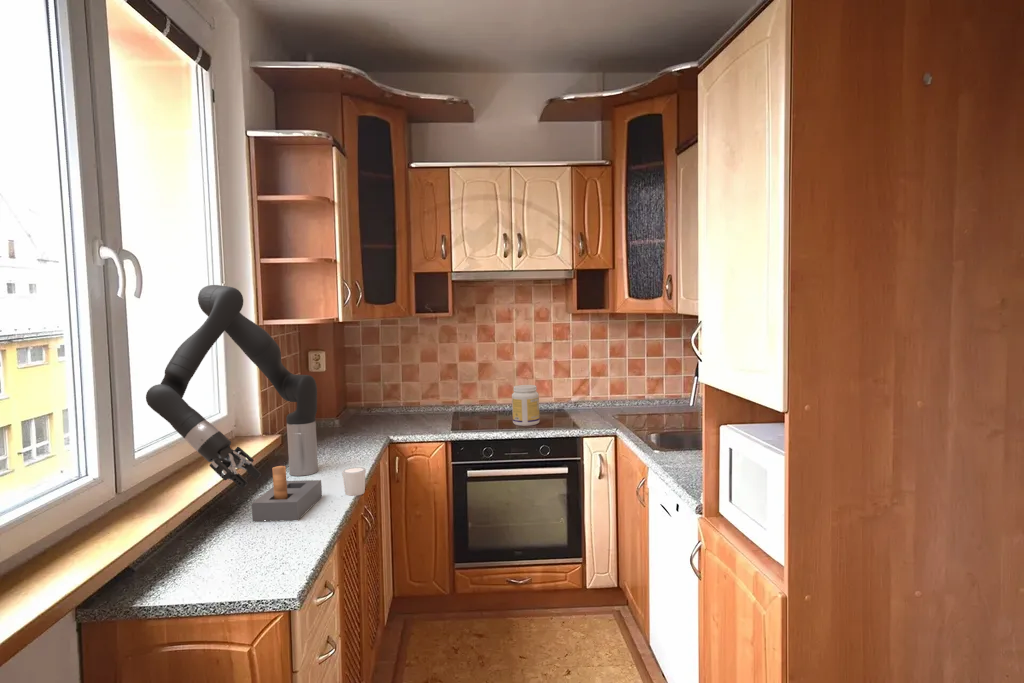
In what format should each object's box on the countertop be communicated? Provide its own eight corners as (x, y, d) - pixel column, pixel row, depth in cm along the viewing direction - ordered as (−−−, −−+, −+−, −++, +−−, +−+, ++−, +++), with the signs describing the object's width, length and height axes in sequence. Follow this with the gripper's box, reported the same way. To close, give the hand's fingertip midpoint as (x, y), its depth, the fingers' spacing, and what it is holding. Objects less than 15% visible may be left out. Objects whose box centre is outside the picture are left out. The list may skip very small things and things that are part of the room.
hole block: (281, 497, 188) (280, 481, 188) (322, 496, 188) (321, 480, 187) (252, 521, 168) (251, 503, 168) (297, 520, 168) (296, 502, 167)
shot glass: (342, 491, 192) (340, 468, 192) (365, 488, 195) (364, 465, 194) (344, 497, 186) (343, 474, 185) (368, 494, 188) (367, 471, 188)
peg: (278, 508, 175) (275, 466, 174) (290, 508, 174) (287, 465, 174) (273, 513, 171) (270, 469, 170) (285, 512, 171) (282, 468, 170)
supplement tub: (539, 420, 292) (538, 384, 290) (540, 426, 279) (539, 387, 278) (512, 421, 292) (511, 384, 291) (512, 426, 280) (511, 388, 279)
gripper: (204, 436, 164) (250, 479, 165) (229, 425, 179) (272, 464, 179) (185, 457, 165) (231, 499, 165) (211, 444, 179) (254, 483, 180)
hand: (252, 481), depth 172 cm, fingers open, 8 cm apart
